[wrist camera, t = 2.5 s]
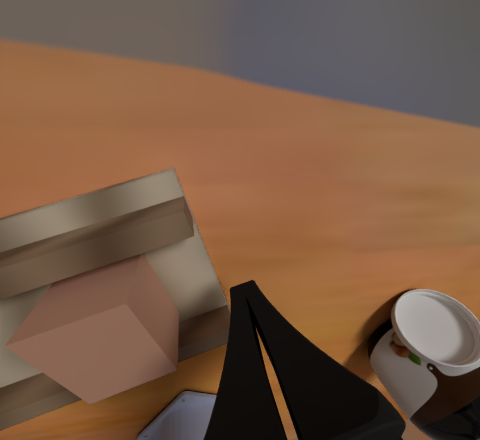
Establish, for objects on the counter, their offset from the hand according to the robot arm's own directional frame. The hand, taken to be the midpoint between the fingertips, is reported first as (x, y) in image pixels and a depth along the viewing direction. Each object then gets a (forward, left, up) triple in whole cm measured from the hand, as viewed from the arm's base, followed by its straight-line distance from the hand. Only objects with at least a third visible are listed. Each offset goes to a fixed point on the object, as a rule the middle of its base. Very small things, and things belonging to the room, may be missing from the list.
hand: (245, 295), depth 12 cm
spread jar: (+3, -24, -4) cm, 25 cm away
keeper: (-6, +4, -3) cm, 8 cm away
